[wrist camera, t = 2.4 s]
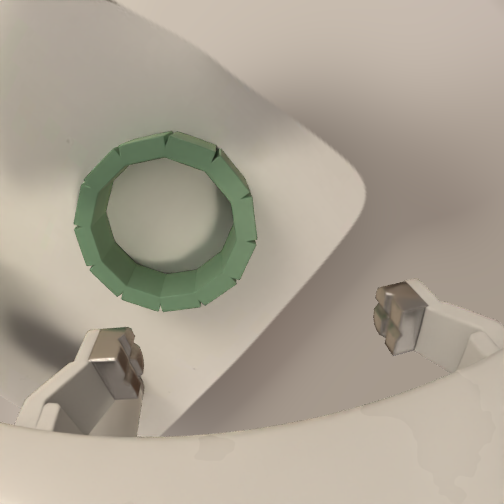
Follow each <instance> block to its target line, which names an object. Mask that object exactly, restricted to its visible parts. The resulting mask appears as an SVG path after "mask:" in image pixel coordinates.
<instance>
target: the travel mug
mask: <svg viewBox="0 0 504 504" xmlns="http://www.w3.org/2000/svg"><path fill="white" fill-rule="evenodd" d="M138 379H139V381H140V383H141V386H140V391H139V396H138V399H123V400H115V402H114V403H113V405H112V406H111V407H110V408H109V410H108V411H107V412H106V413H105V415H104V416H103V417H102V418H101V420H100V421H99V422H98V423H97V425H96V426H95V427H94V428H93V430H92V431H91V432H90V433H89V435H95V436H114V437H137V431H138V424H139V418H140V412H141V406H142V400H143V394H144V384H143V382H142V380H141V378H140V377H139V378H138Z"/></svg>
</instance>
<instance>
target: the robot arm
mask: <svg viewBox="0 0 504 504" xmlns="http://www.w3.org/2000/svg"><path fill="white" fill-rule="evenodd" d="M375 298H376V300H377V301H378V302H379V303H378V304H377V306H376V307H375V308H374V315H373V318H374V325H375V327H376V330H377V332H378V333H379V335H381V336H383V337H385V338H386V340H385V344H386V346H387V347H388V349H389V351H390V352H391V354H392V355H393V356H396V355H399V354H403V353H406V352H410V351H413V350H415V352H417V353H418V354H420V355H421V356H423V357H425V358H426V359H428V360H430V361H431V362H433V363H435V364H436V365H438V366H440V367H441V368H443V369H445V370H446V371H448V372H450V373H451V374H449V375H446V376H444V377H442V378H439V379H437V380H434V381H432V382H429V383H427V384H424V385H422V386H419V387H416V388H414V389H411V390H408V391H405V392H403V393H400V394H397V395H394V396H391V397H388V398H385V399H382V400H378V401H375V402H372V403H369V404H365V405H362V406H358V407H355V408H351V409H348V410H344V411H340V412H336V413H332V414H328V415H324V416H320V417H315V418H311V419H307V420H301V421H297V422H292V423H286V424H281V425H275V426H269V427H263V428H256V429H249V430H242V431H235V432H225V433H217V434H205V435H190V436H172V437H114V436H95V435H89V433H90V432H91V431H92V430H93V428H94V427H95V426H96V425H97V423H98V422H99V421H100V420H101V418H102V417H103V416H104V415H105V413H106V412H107V411H108V410H109V408H110V407H111V406H112V405H113V403H114V402H115V400H123V399H138V396H139V391H140V386H141V383H140V381H139V379H138V378H139V377H140V376H141V375H142V374H143V369H144V359H143V355H142V351H141V349H140V347H139V346H138V345H137V344H135V343H134V338H135V335H134V333H133V331H132V329H131V328H129V327H121V328H107V329H94V330H89V331H87V333H86V335H85V338H84V340H83V342H82V344H81V347H80V349H79V351H78V354H77V356H76V358H75V361H74V362H70V363H69V364H67V365H66V366H65V367H64V368H62V369H61V370H60V371H59V372H57V373H56V374H55V375H54V376H53V377H51V378H50V379H49V380H48V381H47V382H45V383H44V384H43V385H42V386H40V387H39V388H38V389H37V390H36V391H34V392H33V393H32V394H31V395H30V396H28V397H27V398H26V399H25V400H24V403H23V405H22V407H21V410H20V412H19V415H18V417H17V419H16V422H15V424H14V425H10V424H6V423H1V422H0V504H504V326H503V325H502V324H501V323H500V322H499V321H497V320H494V319H491V318H488V317H486V316H483V315H481V314H478V313H475V312H472V311H470V310H467V309H464V308H461V307H459V306H456V305H453V304H450V303H448V302H440V300H439V299H438V298H437V297H436V296H435V295H434V294H433V293H432V292H431V291H430V290H429V289H428V288H427V287H426V286H425V285H424V284H423V283H422V282H421V281H420V280H419V279H416V278H414V279H410V280H407V281H403V282H401V283H396V284H392V285H388V286H383V287H379V288H378V289H377V291H376V297H375Z"/></svg>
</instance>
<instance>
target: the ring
mask: <svg viewBox="0 0 504 504" xmlns="http://www.w3.org/2000/svg"><path fill="white" fill-rule="evenodd" d="M160 158H168V159H171V160H174V161H176V162H179V163H182V164H185V165H188V166H191V167H194V168H196V169H199V170H202V171H205V173H206V174H207V175H208V176H209V177H210V178H211V180H212V181H213V182H214V183H215V184H216V186H217V187H218V188H219V189H220V190H221V192H222V193H223V194H224V195H225V196H226V198H227V199H228V200H229V201H230V202H231V208H232V214H233V221H234V223H233V226H232V228H231V230H230V233H229V235H228V237H227V240H226V242H225V245H224V247H223V249H222V251H221V252H220V253H218V254H217V255H216V256H214V257H213V258H212V259H210V260H209V261H208V262H206V263H205V264H204V265H202V266H201V267H199V268H198V269H197V270H191V271H184V272H177V273H170V274H165V273H162V272H159V271H156V270H153V269H150V268H147V267H144V266H141V265H138V264H136V263H135V262H134V261H133V260H132V259H131V258H130V257H129V256H128V255H127V254H126V253H125V252H124V251H123V250H122V249H121V248H120V247H119V246H118V245H117V244H116V243H115V241H114V238H113V235H112V231H111V228H110V224H109V221H108V217H107V214H106V209H107V205H108V201H109V197H110V193H111V189H112V185H113V182H114V180H115V179H116V178H117V177H118V176H119V175H120V174H121V173H122V172H123V171H124V170H125V169H126V168H127V167H128V166H129V165H132V164H136V163H141V162H145V161H150V160H155V159H160ZM84 181H85V182H84V183H83V184H82V185H81V188H80V193H79V198H78V203H77V208H76V213H75V219H74V225H77V227H76V228H75V229H74V231H75V234H76V237H77V240H78V243H79V246H80V249H81V252H82V255H83V257H84V260H85V263H86V266H92V267H91V268H90V271H91V272H92V273H93V274H94V275H95V276H96V277H97V278H98V279H99V280H100V281H101V282H102V283H103V284H104V285H105V286H106V287H107V288H108V289H109V290H110V291H111V292H113V293H114V294H115V295H116V296H117V297H118V296H119V295H121V294H122V293H123V294H122V300H124V301H127V302H130V303H133V304H136V305H139V306H142V307H145V308H148V309H151V310H154V311H159V308H160V305H161V308H162V311H163V312H167V311H175V310H183V309H191V308H198V307H201V302H202V303H203V304H204V305H207V304H208V303H210V302H211V301H213V300H214V299H216V298H217V297H219V296H220V295H221V294H223V293H224V292H226V291H227V290H229V289H230V288H232V287H233V286H235V285H236V284H237V283H236V279H237V280H240V279H241V276H242V274H243V272H244V270H245V268H246V266H247V264H248V261H249V259H250V257H251V255H252V253H253V251H254V249H255V247H256V242H255V240H257V232H256V223H255V215H254V207H253V199H252V195H251V193H250V190H249V187H248V185H247V183H246V180H245V178H244V177H243V176H242V174H241V173H240V172H239V171H238V169H237V168H236V167H235V166H234V164H233V163H232V162H231V161H230V159H229V158H228V157H227V156H226V154H225V153H224V152H223V151H222V149H218V150H217V151H216V145H214V144H212V143H209V142H206V141H203V140H201V139H198V138H195V137H192V136H189V135H187V134H184V133H181V132H178V131H177V132H175V133H172V131H169V132H164V133H159V134H154V135H150V136H145V137H141V138H137V139H133V140H130V141H128V142H126V143H123V144H121V145H119V146H118V147H116V148H114V149H112V150H111V151H110V152H109V153H108V154H107V155H106V156H105V157H104V158H103V159H102V160H101V161H100V163H99V164H98V165H97V166H96V167H95V168H94V169H93V170H92V171H91V172H90V173H89V174H88V175H87V176H86V177H85V179H84Z"/></svg>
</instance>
